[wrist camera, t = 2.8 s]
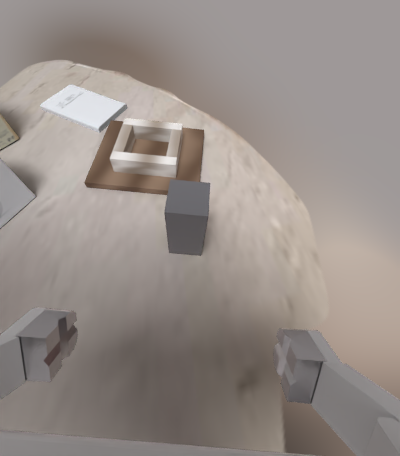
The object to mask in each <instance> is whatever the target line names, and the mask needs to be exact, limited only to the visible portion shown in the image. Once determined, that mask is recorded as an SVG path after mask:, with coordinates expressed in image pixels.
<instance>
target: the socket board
mask: <svg viewBox="0 0 400 456" xmlns="http://www.w3.org/2000/svg"><path fill="white" fill-rule="evenodd" d="M203 138H204V130H199V129H190V128H182V124H178V123H168V122H159V121H149V120H139V119H130V118H125V119H124V122H122V121H113V120H111V121H110V124H109V126H108V128H107V131H106V133H105V135H104V138H103V140H102V142H101V145H100V147H99V150H98V152H97V154H96V157H95V159H94V161H93V164H92V166H91V168H90V171H89V173H88V175H87V178H86V180H85V182H84V183H85V184H86V186H87V187H90V188H101V189H111V190H122V191H132V192H143V193H153V194H164V195H168V189H169V184H170V179H173V180H183V181H194V182H200V172H201V160H202V149H203Z"/></svg>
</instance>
